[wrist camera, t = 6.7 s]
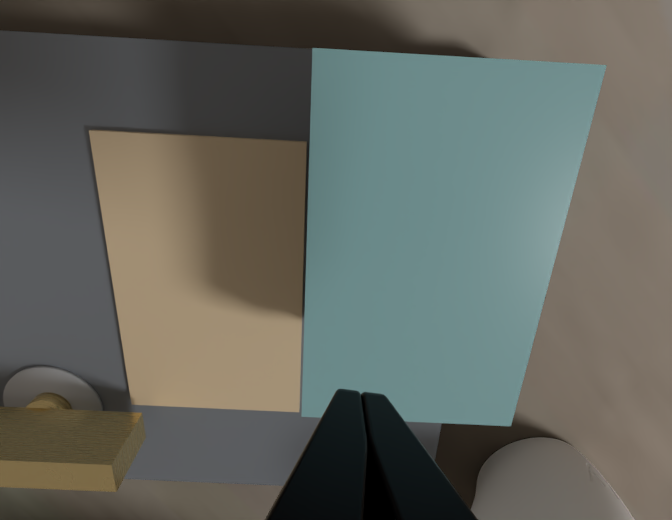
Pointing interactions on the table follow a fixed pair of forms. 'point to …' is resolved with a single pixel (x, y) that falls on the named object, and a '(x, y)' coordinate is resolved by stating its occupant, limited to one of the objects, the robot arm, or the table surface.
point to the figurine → (544, 485)
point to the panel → (161, 245)
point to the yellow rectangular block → (67, 445)
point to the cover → (435, 225)
